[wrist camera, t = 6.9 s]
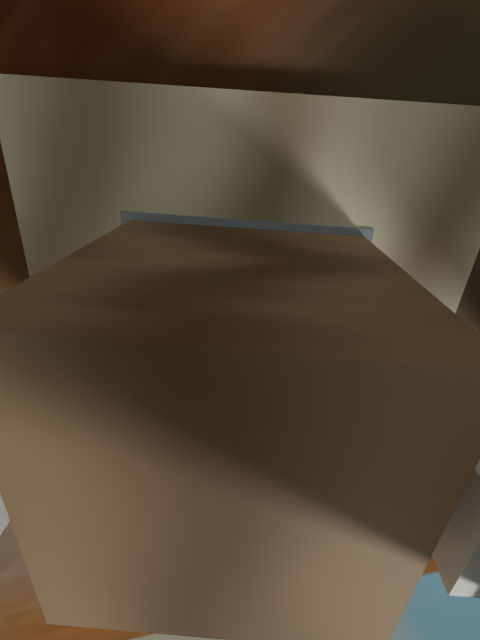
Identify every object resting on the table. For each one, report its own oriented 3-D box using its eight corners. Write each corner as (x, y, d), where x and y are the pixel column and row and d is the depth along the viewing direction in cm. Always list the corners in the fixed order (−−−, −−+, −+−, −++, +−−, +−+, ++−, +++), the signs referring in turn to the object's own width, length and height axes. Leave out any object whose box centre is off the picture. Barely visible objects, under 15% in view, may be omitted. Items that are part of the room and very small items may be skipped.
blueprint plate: (505, 113, 11) (533, 108, 10) (383, 467, 18) (392, 488, 17) (11, 79, 12) (-17, 71, 10) (79, 442, 19) (67, 461, 17)
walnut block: (364, 236, 12) (524, 371, 5) (325, 418, 15) (382, 652, 8) (129, 219, 12) (-60, 328, 5) (144, 404, 16) (47, 623, 8)
